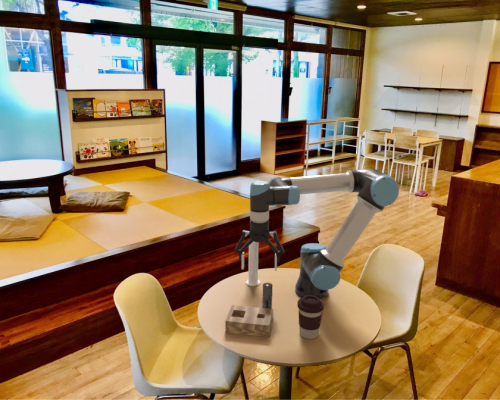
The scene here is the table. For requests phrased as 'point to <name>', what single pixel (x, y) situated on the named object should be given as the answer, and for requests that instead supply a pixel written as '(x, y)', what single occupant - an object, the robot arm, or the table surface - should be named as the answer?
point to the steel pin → (267, 296)
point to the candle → (253, 265)
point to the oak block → (249, 320)
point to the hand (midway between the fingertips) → (259, 268)
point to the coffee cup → (310, 316)
